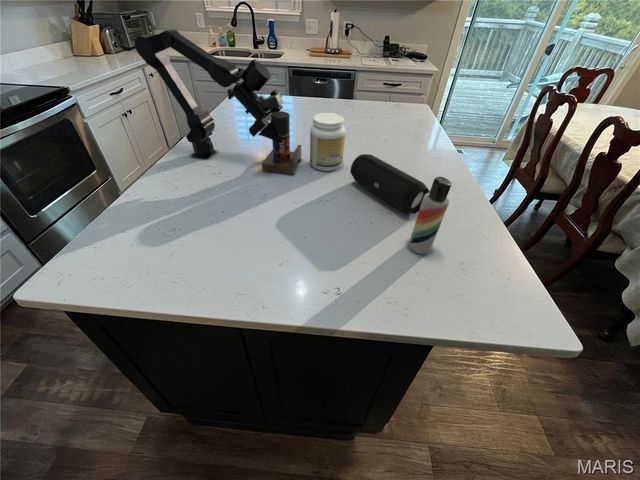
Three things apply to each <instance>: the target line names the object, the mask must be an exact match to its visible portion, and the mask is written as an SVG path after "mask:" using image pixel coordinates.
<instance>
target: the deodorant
mask: <svg viewBox="0 0 640 480" xmlns="http://www.w3.org/2000/svg"><path fill="white" fill-rule="evenodd" d="M271 121H272V122H273V128H274V129H275V131H276V132H277V133H278V135H279V136H280V137H281V139H282V140H283V142H282V143H279V142H276V141H274V140H272V139H271V141H272V150H273V158H274V159H275V160H277V161H287V160H289V159H290V151H291V141H290V140H291V138H290V136H291V135H290V132H291V130H290V126H291V125H290V113H289V112H287V111H283V110H280V111H277V112H273V113H271Z"/></svg>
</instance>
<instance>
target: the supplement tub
mask: <svg viewBox="0 0 640 480" xmlns="http://www.w3.org/2000/svg"><path fill="white" fill-rule="evenodd" d="M344 125H345V117H344V116H343V115H340V114H337V113H332V112H322V113H317V114H316V115H314V116H313V118H312V125H311V127H310V130H309V132H310V134H309V135H310V137H309V163H310V166H311V167H312V168H314V169H315V170H318V171H321V172H332V171H336V170H338V169H340V168H341V167H342V166H343V163H344V152H345V141H346V127H345V126H344Z"/></svg>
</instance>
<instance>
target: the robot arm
mask: <svg viewBox="0 0 640 480" xmlns="http://www.w3.org/2000/svg"><path fill="white" fill-rule="evenodd" d="M170 48H171V49H172V50H173V51H176V52H177V53H179V54H180V55H182V56H183V57H185V58H186V59H188V60H189V61H190V62H193V63H194V64H195V65H197V66H198V67H200V68H201V69H203V70H204V71H205V72H207V73H208V75H209V76H210V78H211V80H213V81H214V82H215V83H217V85H219V86H220V87H221V88H229V87H231V86H232V85H233V87H232V88H229V89H227V90H226V91H227V99H228V100H229V101H230V100H232V99H234V98H235V99H236V100H237V101H238V102H239V103H240V104H241V105H242V106H243V108H245V111H244V112H245V114H246V115H248V114H250V115H251V116H252V117H253V118H254V119H255V120H254V122H253V124H251V126H250V127H249V128H248V132H249V134H250V135H251V136H252V137H253V138H255V137H256V135H258V136H262V137H264V138H267V139H269V140H271V141H272V140H274V141H276V142H279V143H282V142H283V140H282V139H281V137H280V136H279V135H278V133H277V132H276V131H275V129H274V128H273V122H272V121H271V113H273V112H277V111H282V110H283V108H284V106H283V105H282V104H284V101H283V95H282V94H281V93H280V91H278V90H277V89H274V90H272V91H271V92H270V95H269V96H268V97H265V96H263V95H258V94H257V93H256V92H260V91H261V90H262V88H264V86H265V85H266V84H267V83H268V82H269V81H270V80H271V79H272V74H271V72H270V71H269V69H268V68H267V67H266V66H265V65H263V64H262V63H260V62H259V61H257V60H256V59H255V58H254V59H251V61H250V62H249V63H248V66H247V67H246V68H245V69H244V68H240V67H238V66H237V65H236V64H235V63H233V62H230V61H228V60H226V59H224V58H220V57H216V56H214V55H212V54H211V53H209V52H208V51H206V50H205V49H204V48H201V47H200V46H199V45H197V44H195V42H192V41H191V40H190V39H188V38H186V37H185V36H184V35H182V34H180V32H179V31H178V30H176V29H174V28H171V29H166V30H163V31H162V32H160V33H157V34H155V33H148V34H143V35H138V36H136V37H135V39H134V49H135V51H136V53H137V54H138V55H139V56H140V58H141V59H142V60H143V61H144V62H145V64H147V65H148V66H150V67H151V68H153V70H155V71H156V72H157V73H158V75H159V76H160V78H161V80H162V81H163V82H164V84H165V85H166V87H167V88H168V90H169V91H170V92H171V94H172V95H173V97H174V98H175V100H176V102H177V103H178V105H179V106H180V108H181V109H182V111H183V112H184V114H185V116H186V122H187V126H188V128H189V129H190V130H189V131H188V133H186V135H185V138H186V140H187V141H188V143H191V145H192V150H193V154H191V156H192V157H193V158H194V157H195V158H201V159H205V160H207V159H210V158H211V157H212V156H213V155H214V154H215V153H217V152H216V151H217V150H215V148H214V143H213V142H212V139H211V137H210V136H212V135H213V132H214V130H215V127H216V123H215V122H214V121H215V119H214V118H213V117H212V115H211V114H210V112H209V110H208V109H207V108H206V109H204V110H203V109H202V108H200V107H199V106H198V104H197V103H196V101H195V98H193V96H192V95H191V93H190V92H189V89H188V88H187V87H186V85H185V84H184V82H183V81H182V78H180V76H179V74H178V73H177V71H176V69H175V68H174V67H173V65H172V63H171V58H170V57H171V56H170V52H169V50H168V49H170ZM240 81H241V83H240ZM234 84H235V85H234Z"/></svg>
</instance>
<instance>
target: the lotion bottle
mask: <svg viewBox="0 0 640 480" xmlns="http://www.w3.org/2000/svg"><path fill="white" fill-rule="evenodd" d="M452 185H453V183H452V182H451V180H449V178H446V177H444V176H436V177H435V178H434V179H433V181H432V184H431V187H430V189H429V191H430V193H427V194H425V196H424V198H423V201H422V204H421V207H420V210H419V211H418V212H417V216H416V219H415V223H414V225H413V228H412V232H411V234H410V238H409V241H408V247H409V249H410V250H411V251H412V252H414V253H416V254H419V255H425V254H428V253H430V251H431V250H432V247H433V245H434V242H435V240H436V238H437V235H438V233H439V230H440V227H441V225H442V222H443V220H444V217H445V215H446V212H447V210H448V207H449V205H450V199H449V198H448V195H449V193H450V190H451V187H452Z"/></svg>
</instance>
